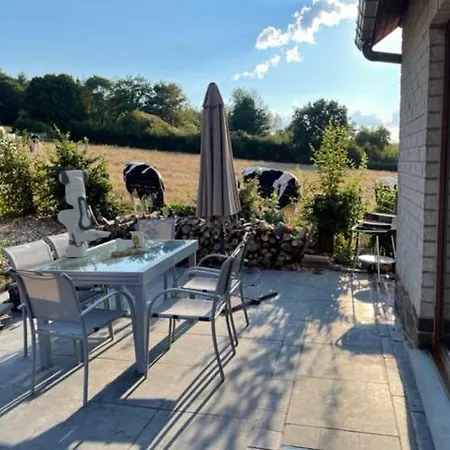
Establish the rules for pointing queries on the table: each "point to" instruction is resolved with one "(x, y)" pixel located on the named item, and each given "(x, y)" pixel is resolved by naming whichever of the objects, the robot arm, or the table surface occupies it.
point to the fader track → (128, 253)
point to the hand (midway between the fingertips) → (110, 232)
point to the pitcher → (138, 238)
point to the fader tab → (119, 245)
